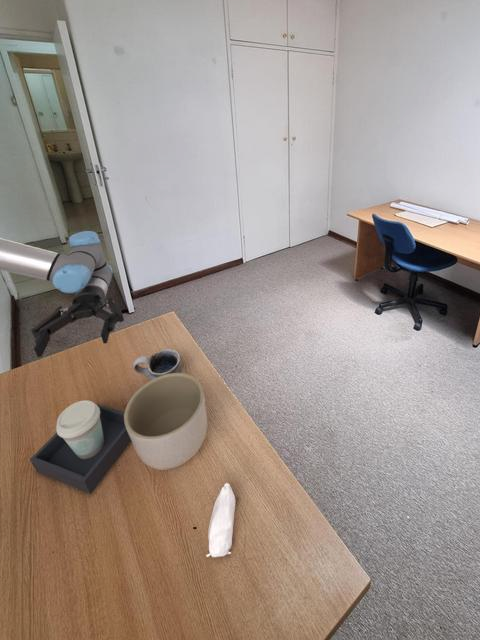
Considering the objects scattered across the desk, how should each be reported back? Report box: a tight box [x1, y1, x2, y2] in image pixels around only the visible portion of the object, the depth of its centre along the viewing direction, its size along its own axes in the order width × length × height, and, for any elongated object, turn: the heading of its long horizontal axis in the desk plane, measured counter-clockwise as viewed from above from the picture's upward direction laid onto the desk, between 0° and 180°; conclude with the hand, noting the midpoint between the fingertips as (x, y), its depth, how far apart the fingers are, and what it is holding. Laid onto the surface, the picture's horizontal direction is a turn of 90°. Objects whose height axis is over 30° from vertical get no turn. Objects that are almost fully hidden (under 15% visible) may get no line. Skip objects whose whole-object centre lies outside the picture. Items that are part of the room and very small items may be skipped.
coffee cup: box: [55, 399, 104, 459], centre depth 77 cm, size 8×8×12 cm
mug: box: [132, 348, 182, 381], centre depth 96 cm, size 10×12×10 cm
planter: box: [124, 372, 208, 471], centre depth 78 cm, size 17×17×15 cm
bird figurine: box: [205, 482, 237, 558], centre depth 65 cm, size 5×7×10 cm
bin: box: [29, 402, 132, 495], centre depth 79 cm, size 16×16×5 cm
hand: (71, 345), depth 77 cm, fingers open, 13 cm apart
